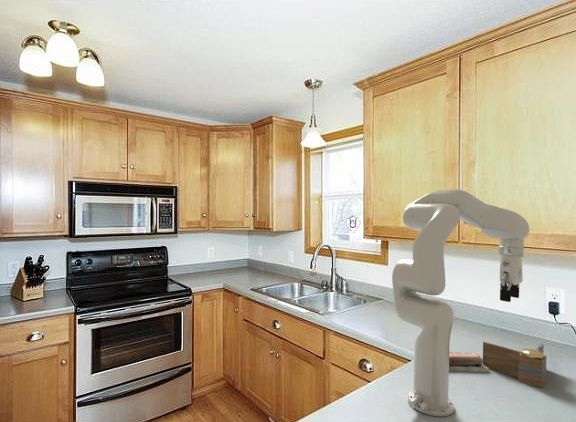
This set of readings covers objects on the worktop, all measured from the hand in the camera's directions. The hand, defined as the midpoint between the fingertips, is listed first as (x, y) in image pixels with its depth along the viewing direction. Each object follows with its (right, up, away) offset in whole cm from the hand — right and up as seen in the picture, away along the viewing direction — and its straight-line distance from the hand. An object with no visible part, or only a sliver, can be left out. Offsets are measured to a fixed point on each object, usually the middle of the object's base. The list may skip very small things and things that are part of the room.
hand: (509, 299), depth 122 cm
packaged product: (-16, -27, +5) cm, 32 cm away
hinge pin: (+3, -26, -7) cm, 27 cm away
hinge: (+4, -27, +2) cm, 27 cm away
